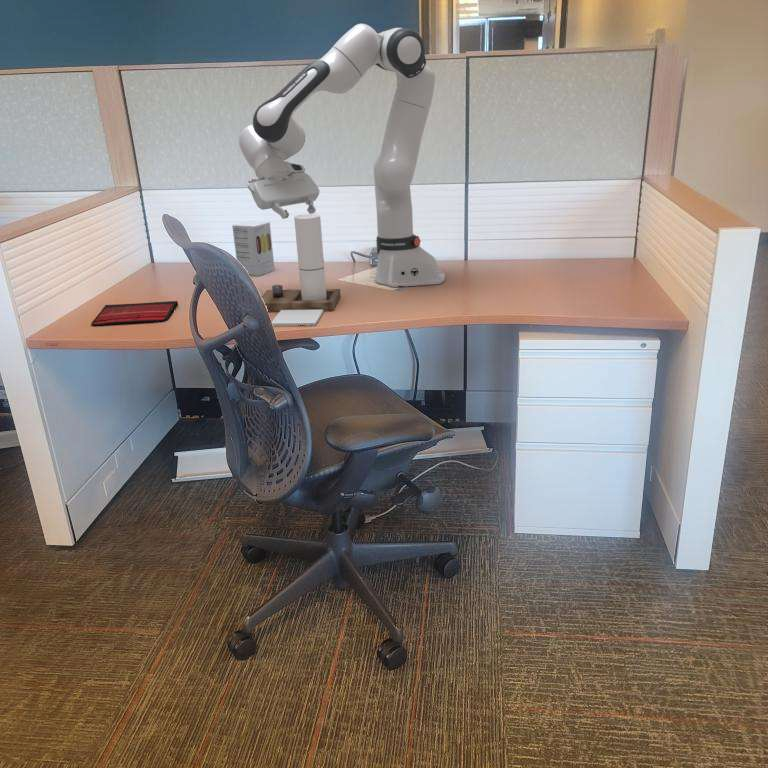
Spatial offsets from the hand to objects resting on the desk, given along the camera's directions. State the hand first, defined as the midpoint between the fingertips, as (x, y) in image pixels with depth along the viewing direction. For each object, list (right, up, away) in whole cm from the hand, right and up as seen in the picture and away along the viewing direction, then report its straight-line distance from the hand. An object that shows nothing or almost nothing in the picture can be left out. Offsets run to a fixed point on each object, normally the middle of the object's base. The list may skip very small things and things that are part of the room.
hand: (299, 214), depth 187 cm
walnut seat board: (-1, -24, +8) cm, 25 cm away
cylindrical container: (+3, -24, +8) cm, 26 cm away
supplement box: (-21, -8, +47) cm, 52 cm away
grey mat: (0, -30, -5) cm, 30 cm away
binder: (-47, -28, +5) cm, 55 cm away
